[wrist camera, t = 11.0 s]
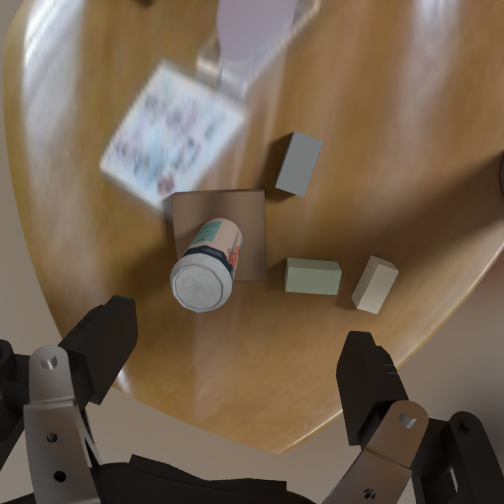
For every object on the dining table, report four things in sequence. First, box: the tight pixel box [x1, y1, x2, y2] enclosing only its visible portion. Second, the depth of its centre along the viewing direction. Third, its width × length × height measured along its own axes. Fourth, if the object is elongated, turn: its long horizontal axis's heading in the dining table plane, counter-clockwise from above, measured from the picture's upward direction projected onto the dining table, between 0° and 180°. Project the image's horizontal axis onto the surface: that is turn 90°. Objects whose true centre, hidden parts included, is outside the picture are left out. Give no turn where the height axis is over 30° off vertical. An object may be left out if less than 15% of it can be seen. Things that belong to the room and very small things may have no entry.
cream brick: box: [351, 255, 399, 314], centre depth 35 cm, size 6×3×3 cm, turn 162°
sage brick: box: [284, 257, 342, 295], centre depth 35 cm, size 6×3×3 cm, turn 86°
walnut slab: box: [170, 189, 266, 281], centre depth 34 cm, size 10×10×2 cm
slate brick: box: [275, 132, 323, 197], centre depth 30 cm, size 6×3×3 cm, turn 162°
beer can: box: [170, 218, 242, 313], centre depth 27 cm, size 5×5×12 cm
